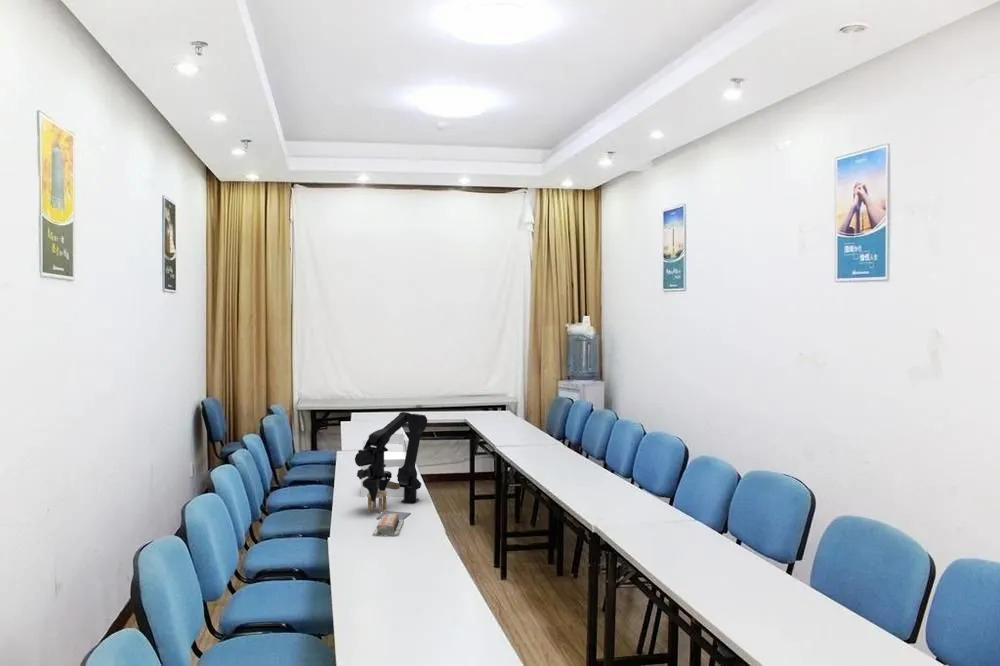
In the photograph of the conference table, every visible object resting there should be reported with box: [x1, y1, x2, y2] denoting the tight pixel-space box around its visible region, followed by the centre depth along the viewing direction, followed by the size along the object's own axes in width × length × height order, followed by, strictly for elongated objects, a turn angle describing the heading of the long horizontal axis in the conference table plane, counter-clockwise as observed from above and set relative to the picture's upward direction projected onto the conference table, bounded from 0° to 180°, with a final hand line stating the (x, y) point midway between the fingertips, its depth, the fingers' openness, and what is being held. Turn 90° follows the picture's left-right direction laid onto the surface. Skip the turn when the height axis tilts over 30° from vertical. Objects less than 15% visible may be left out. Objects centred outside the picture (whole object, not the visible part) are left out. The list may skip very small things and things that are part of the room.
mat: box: [376, 510, 411, 520], centre depth 307 cm, size 11×11×1 cm
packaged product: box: [372, 513, 405, 537], centre depth 290 cm, size 18×5×10 cm
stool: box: [366, 490, 387, 514], centre depth 315 cm, size 6×6×8 cm
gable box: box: [360, 433, 409, 497], centre depth 345 cm, size 22×13×28 cm, turn 94°
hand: (377, 498), depth 315 cm, fingers open, 9 cm apart
